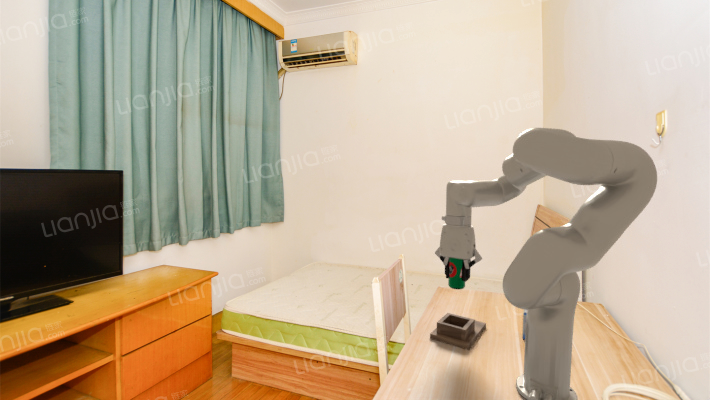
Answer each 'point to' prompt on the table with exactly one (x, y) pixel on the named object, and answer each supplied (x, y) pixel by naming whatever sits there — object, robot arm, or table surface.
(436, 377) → the table surface
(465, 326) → the can stand
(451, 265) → the soda can
